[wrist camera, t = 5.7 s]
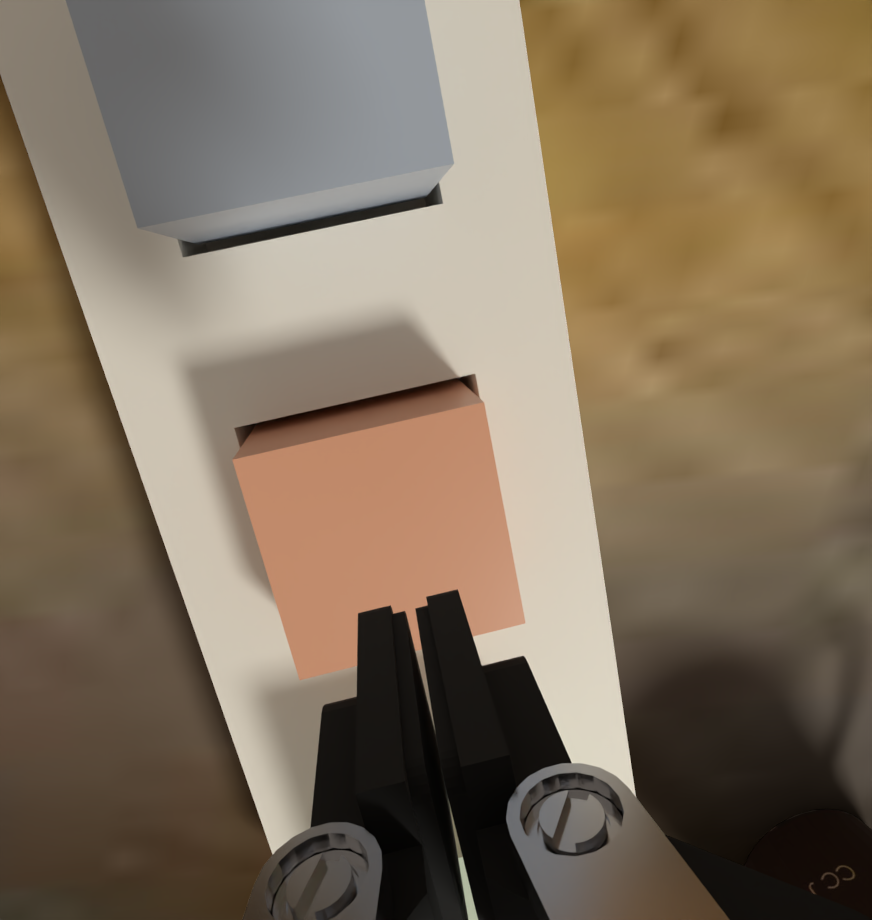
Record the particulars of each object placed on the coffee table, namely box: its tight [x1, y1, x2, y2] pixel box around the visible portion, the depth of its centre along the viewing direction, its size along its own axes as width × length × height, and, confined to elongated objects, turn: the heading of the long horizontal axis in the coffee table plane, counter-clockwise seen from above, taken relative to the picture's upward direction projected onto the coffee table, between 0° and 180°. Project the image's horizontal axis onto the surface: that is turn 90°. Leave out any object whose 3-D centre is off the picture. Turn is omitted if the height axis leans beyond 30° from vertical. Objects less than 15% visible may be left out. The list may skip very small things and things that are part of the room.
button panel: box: [0, 0, 636, 854], centre depth 20 cm, size 12×31×4 cm, turn 12°
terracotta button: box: [232, 378, 525, 680], centre depth 19 cm, size 6×6×5 cm
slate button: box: [66, 0, 454, 245], centre depth 14 cm, size 6×6×5 cm
